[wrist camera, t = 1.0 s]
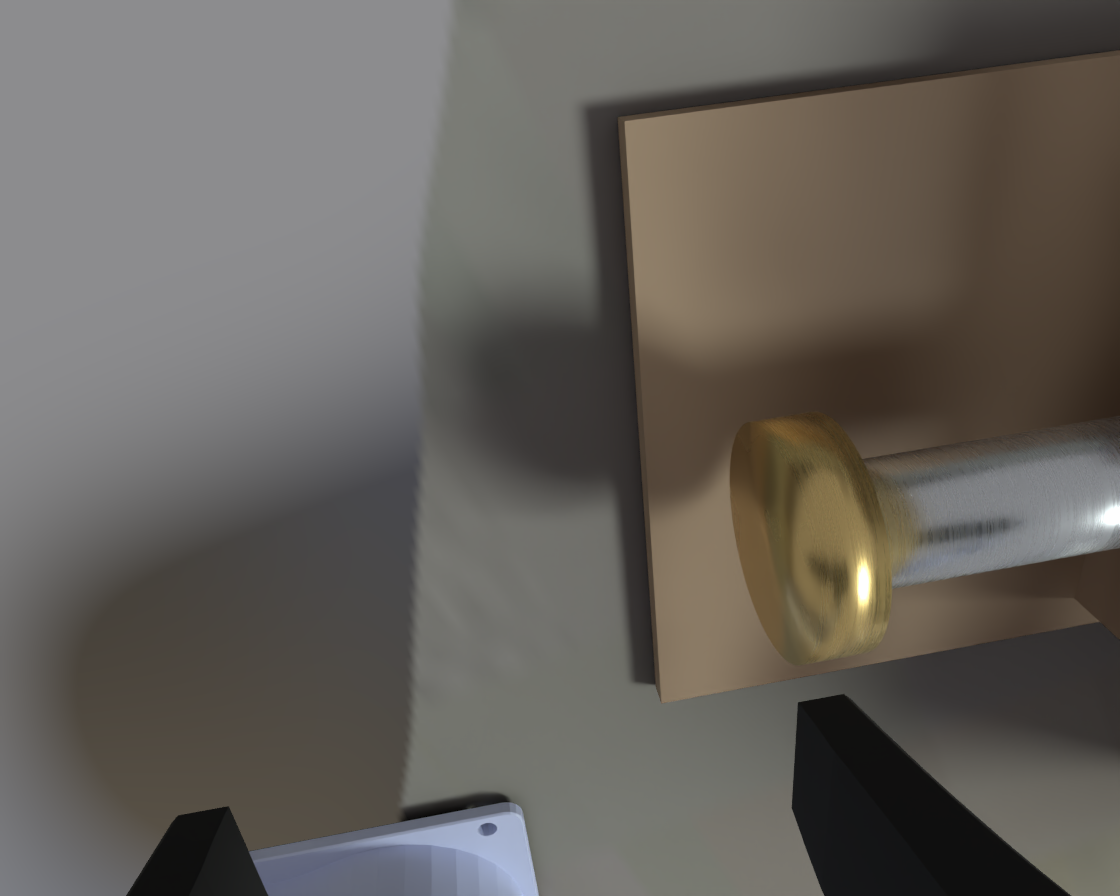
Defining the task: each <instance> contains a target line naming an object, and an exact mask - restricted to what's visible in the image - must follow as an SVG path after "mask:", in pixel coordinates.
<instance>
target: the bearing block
mask: <svg viewBox="0 0 1120 896" xmlns="http://www.w3.org/2000/svg"><path fill="white" fill-rule="evenodd" d="M618 131H619V146H620V160H621V175H622V190H623V205H624V220H625V235H626V250H627V265H628V280H629V295H630V310H631V325H632V339H633V354H634V369H635V384H636V399H637V414H638V429H639V444H640V459H641V474H642V489H643V504H644V518H645V533H646V548H647V563H648V578H649V593H650V608H651V623H652V638H653V653H654V668H655V683H656V689H657V692H658V695H659V698H660V701H661V703H666V702H672V701H677V700H682V699H688V698H693V697H698V696H704V695H709V694H715V693H720V692H725V691H731V690H736V689H741V688H747V687H752V686H758V685H763V684H768V683H774V682H779V681H784V680H790V679H795V678H801V677H806V676H811V675H817V674H822V673H827V672H833V671H838V670H844V669H849V668H854V667H860V666H865V665H870V664H876V663H881V662H887V661H892V660H897V659H903V658H908V657H913V656H919V655H924V654H930V653H935V652H940V651H946V650H951V649H956V648H962V647H967V646H973V645H978V644H983V643H989V642H994V641H999V640H1005V639H1010V638H1015V637H1021V636H1026V635H1032V634H1037V633H1042V632H1048V631H1053V630H1058V629H1064V628H1069V627H1075V626H1080V625H1085V624H1091V623H1096V622H1101V623H1102V624H1103V625H1104V626H1105V627H1106V628H1107V629H1108V630H1109V631H1110V632H1112V633H1113V634H1114V635H1115V636H1116V637H1117V638H1118V639H1119V640H1120V548H1117V549H1111V550H1105V551H1100V552H1094V553H1089V554H1083V555H1078V556H1072V557H1066V558H1061V559H1055V560H1050V561H1044V562H1039V563H1033V564H1027V565H1022V566H1016V567H1011V568H1005V569H1000V570H994V571H988V572H983V573H977V574H972V575H966V576H961V577H955V578H949V579H944V580H938V581H933V582H927V583H922V584H916V585H910V586H905V587H899V588H894V589H892V600H891V611H890V617H889V622H888V625H887V629H886V632H885V634H884V637H883V639H882V641H881V642H880V643H879V645H878V646H877V647H876V648H875V649H874V650H872V651H871V652H868V653H864V654H859V655H853V656H848V657H842V658H837V659H832V660H826V661H821V662H815V663H810V664H805V665H799V666H798V665H793V664H791V663H789V662H787V661H786V660H785V659H784V658H783V657H782V656H781V655H780V654H779V653H778V652H777V650H776V649H775V647H774V646H773V645H772V643H771V641H770V640H769V638H768V636H767V634H766V633H765V631H764V629H763V627H762V624H761V622H760V620H759V618H758V615H757V613H756V611H755V608H754V605H753V603H752V600H751V597H750V594H749V591H748V588H747V585H746V581H745V578H744V574H743V571H742V567H741V563H740V559H739V554H738V550H737V545H736V539H735V534H734V527H733V521H732V512H731V502H730V459H731V452H732V447H733V443H734V439H735V437H736V434H737V432H738V430H739V429H740V427H741V426H742V425H743V424H745V423H748V422H753V421H759V420H765V419H771V418H777V417H783V416H790V415H796V414H802V413H808V412H820V413H824V414H826V415H827V416H829V417H831V418H832V419H833V420H834V421H836V422H837V423H838V424H839V425H840V426H841V427H842V429H843V430H844V431H845V432H846V433H847V435H848V436H849V438H850V439H851V441H852V442H853V444H854V445H855V447H856V449H857V451H858V452H859V454H860V456H861V458H862V459H865V458H871V457H877V456H883V455H889V454H895V453H901V452H907V451H913V450H919V449H925V448H931V447H937V446H943V445H949V444H955V443H961V442H967V441H973V440H979V439H985V438H991V437H997V436H1003V435H1009V434H1015V433H1021V432H1027V431H1033V430H1039V429H1045V428H1051V427H1057V426H1063V425H1069V424H1075V423H1080V422H1086V421H1092V420H1098V419H1104V418H1110V417H1116V416H1120V50H1117V51H1109V52H1102V53H1094V54H1087V55H1079V56H1072V57H1064V58H1057V59H1049V60H1042V61H1034V62H1027V63H1019V64H1012V65H1004V66H997V67H989V68H982V69H974V70H967V71H959V72H952V73H944V74H937V75H929V76H922V77H914V78H907V79H899V80H892V81H884V82H877V83H869V84H862V85H854V86H847V87H839V88H832V89H824V90H817V91H809V92H802V93H794V94H787V95H779V96H772V97H764V98H757V99H749V100H742V101H734V102H727V103H719V104H712V105H704V106H697V107H689V108H682V109H674V110H667V111H659V112H652V113H644V114H637V115H629V116H622V117H618Z"/></svg>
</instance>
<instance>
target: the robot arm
mask: <svg viewBox="0 0 1120 896" xmlns="http://www.w3.org/2000/svg"><path fill="white" fill-rule="evenodd" d="M792 810H793V813H794V815H795V818H796V821H797V824H798V827H799V829H800V832H801V835H802V838H803V841H804V844H805V846H806V849H807V852H808V855H809V857H810V860H811V863H812V865H813V868H814V871H815V873H816V876H817V879H818V881H819V884H820V887H821V889H822V891H823V893H824V896H1071V895H1070V894H1068V893H1067V892H1066V891H1065V890H1063V889H1062V888H1061V887H1060V886H1058V885H1057V884H1056V883H1055V882H1053V881H1052V880H1051V879H1050V878H1048V877H1047V876H1046V875H1045V874H1043V873H1042V872H1041V871H1040V870H1038V869H1037V868H1036V867H1035V866H1034V865H1032V864H1031V863H1030V862H1029V861H1028V860H1026V859H1025V858H1024V857H1023V856H1022V855H1021V854H1019V853H1018V852H1017V851H1016V850H1015V849H1013V848H1012V847H1011V846H1010V845H1009V844H1007V843H1006V842H1005V841H1004V840H1003V839H1002V838H1000V837H999V836H998V835H997V834H996V833H995V832H994V831H992V830H991V829H990V828H989V827H988V826H987V825H986V824H984V823H983V822H982V821H981V820H980V819H979V818H978V817H976V816H975V815H974V814H973V813H972V812H971V811H970V810H968V809H967V808H966V807H965V806H964V805H963V804H962V803H960V802H959V801H958V800H957V799H956V798H955V797H954V796H953V795H952V794H950V793H949V792H948V791H947V790H946V789H945V788H944V787H943V786H942V785H940V784H939V783H938V782H937V781H936V780H935V779H934V778H933V777H932V776H931V775H930V774H929V773H927V772H926V771H925V770H924V769H923V768H922V767H921V766H920V765H919V764H918V763H917V762H916V761H915V760H914V759H912V758H911V757H910V756H909V755H908V754H907V753H906V752H905V751H904V750H903V749H902V748H901V747H900V746H899V745H898V744H897V743H896V742H895V741H893V740H892V739H891V738H890V737H889V736H888V735H887V734H886V733H885V732H884V731H883V730H882V729H881V728H880V727H879V726H878V725H877V724H876V723H875V722H874V721H873V720H872V719H871V718H870V717H869V716H868V715H867V714H866V713H864V712H863V711H862V710H861V709H860V708H859V707H858V706H857V705H856V704H855V703H854V702H853V701H852V700H851V699H850V698H848V697H847V696H846V695H844V694H842V695H836V696H831V697H825V698H820V699H814V700H809V701H803V702H798V713H797V730H796V746H795V763H794V780H793V797H792ZM126 896H539V893H538V888H537V883H536V878H535V873H534V867H533V862H532V857H531V852H530V847H529V842H528V837H527V831H526V826H525V821H524V816H523V811H522V809H521V807H519V806H518V805H516V804H514V803H510V802H503V803H497V804H492V805H487V806H482V807H476V808H471V809H466V810H461V811H456V812H450V813H445V814H440V815H435V816H430V817H424V818H419V819H414V820H409V821H404V822H398V823H393V824H389V825H383V826H378V827H372V828H367V829H362V830H357V831H352V832H346V833H342V834H336V835H331V836H326V837H320V838H316V839H310V840H305V841H300V842H294V843H289V844H284V845H279V846H274V847H268V848H263V849H259V850H253V851H248V849H247V847H246V844H245V842H244V840H243V838H242V836H241V833H240V831H239V829H238V826H237V825H236V822H235V820H234V817H233V815H232V813H231V811H230V808H229V807H222V808H217V809H212V810H206V811H200V812H195V813H190V814H184V815H179V816H177V817H176V819H175V820H174V821H173V822H172V823H171V825H170V827H169V828H168V830H167V831H166V833H165V835H164V836H163V838H162V839H161V841H160V843H159V844H158V846H157V848H156V849H155V851H154V852H153V854H152V855H151V857H150V859H149V860H148V862H147V863H146V865H145V867H144V868H143V870H142V872H141V873H140V875H139V876H138V878H137V879H136V881H135V883H134V884H133V886H132V887H131V889H130V891H129V892H128V894H127V895H126Z"/></svg>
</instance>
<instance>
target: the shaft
mask: <svg viewBox="0 0 1120 896" xmlns="http://www.w3.org/2000/svg"><path fill="white" fill-rule="evenodd" d="M730 502H731V512H732V521H733V527H734V534H735V539H736V545H737V550H738V554H739V559H740V563H741V567H742V571H743V574H744V578H745V581H746V585H747V588H748V591H749V594H750V597H751V600H752V603H753V605H754V608H755V611H756V613H757V615H758V618H759V620H760V622H761V624H762V627H763V629H764V631H765V633H766V634H767V636H768V638H769V640H770V641H771V643H772V645H773V646H774V647H775V649H776V650H777V652H778V653H779V654H780V655H781V656H782V657H783V658H784V659H785V660H786V661H787V662H789V663H791V664H793V665H798V666H799V665H805V664H810V663H815V662H821V661H826V660H832V659H837V658H842V657H848V656H853V655H859V654H864V653H868V652H871V651H872V650H874V649H875V648H876V647H877V646H878V645H879V643H880V642H881V641H882V639H883V637H884V634H885V632H886V629H887V625H888V622H889V617H890V611H891V600H892V589H894V588H899V587H905V586H910V585H916V584H922V583H927V582H933V581H938V580H944V579H949V578H955V577H961V576H966V575H972V574H977V573H983V572H988V571H994V570H1000V569H1005V568H1011V567H1016V566H1022V565H1027V564H1033V563H1039V562H1044V561H1050V560H1055V559H1061V558H1066V557H1072V556H1078V555H1083V554H1089V553H1094V552H1100V551H1105V550H1111V549H1117V548H1120V416H1116V417H1110V418H1104V419H1098V420H1092V421H1086V422H1080V423H1075V424H1069V425H1063V426H1057V427H1051V428H1045V429H1039V430H1033V431H1027V432H1021V433H1015V434H1009V435H1003V436H997V437H991V438H985V439H979V440H973V441H967V442H961V443H955V444H949V445H943V446H937V447H931V448H925V449H919V450H913V451H907V452H901V453H895V454H889V455H883V456H877V457H871V458H865V459H862V458H861V456H860V454H859V452H858V451H857V449H856V447H855V445H854V444H853V442H852V441H851V439H850V438H849V436H848V435H847V433H846V432H845V431H844V430H843V429H842V427H841V426H840V425H839V424H838V423H837V422H836V421H834V420H833V419H832V418H831V417H829V416H827V415H826V414H824V413H820V412H808V413H802V414H796V415H790V416H783V417H777V418H771V419H765V420H759V421H753V422H748V423H745V424H743V425H742V426H741V427H740V429H739V430H738V432H737V434H736V437H735V439H734V443H733V447H732V452H731V459H730Z"/></svg>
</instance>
